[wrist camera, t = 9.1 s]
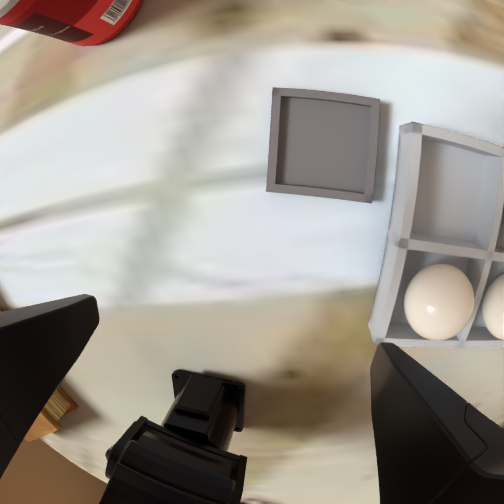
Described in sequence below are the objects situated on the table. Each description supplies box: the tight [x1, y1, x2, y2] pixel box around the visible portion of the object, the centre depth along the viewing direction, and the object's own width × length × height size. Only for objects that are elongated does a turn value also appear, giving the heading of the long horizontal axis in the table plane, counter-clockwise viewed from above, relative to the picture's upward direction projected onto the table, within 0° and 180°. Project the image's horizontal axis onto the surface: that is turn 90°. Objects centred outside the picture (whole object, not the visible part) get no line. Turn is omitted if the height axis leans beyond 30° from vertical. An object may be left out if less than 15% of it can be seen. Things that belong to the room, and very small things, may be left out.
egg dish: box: [266, 88, 380, 203], centre depth 17 cm, size 6×6×1 cm
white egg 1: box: [404, 263, 474, 340], centre depth 16 cm, size 5×5×5 cm
